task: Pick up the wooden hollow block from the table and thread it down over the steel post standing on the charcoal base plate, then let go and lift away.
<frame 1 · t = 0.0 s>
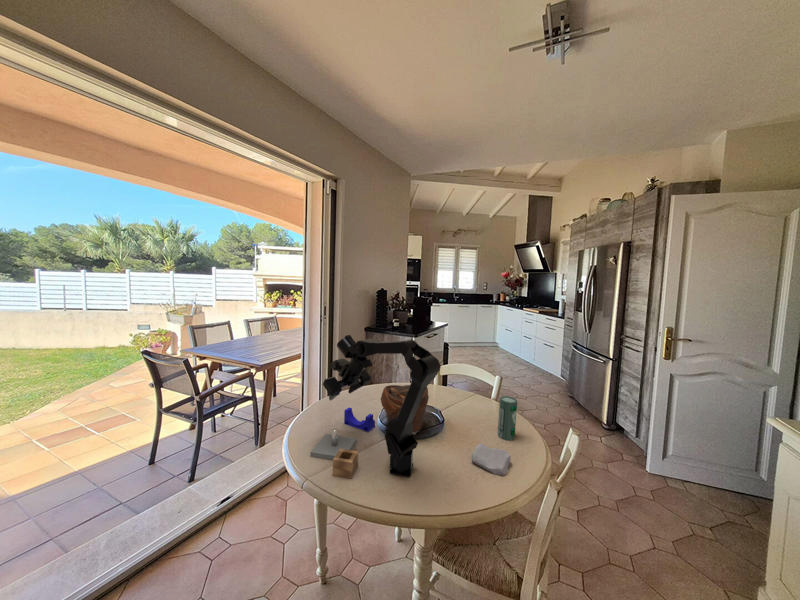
hand: (339, 395, 115), 15 cm above the table, tool tilted 35°, fingers open, 9 cm apart
can: (505, 436, 119), on the table
stone block: (489, 465, 101), on the table
wooden hollow block: (345, 470, 94), on the table
brown pot: (403, 429, 121), on the table
blue curved bracket: (359, 426, 123), on the table
post stand: (334, 448, 106), on the table
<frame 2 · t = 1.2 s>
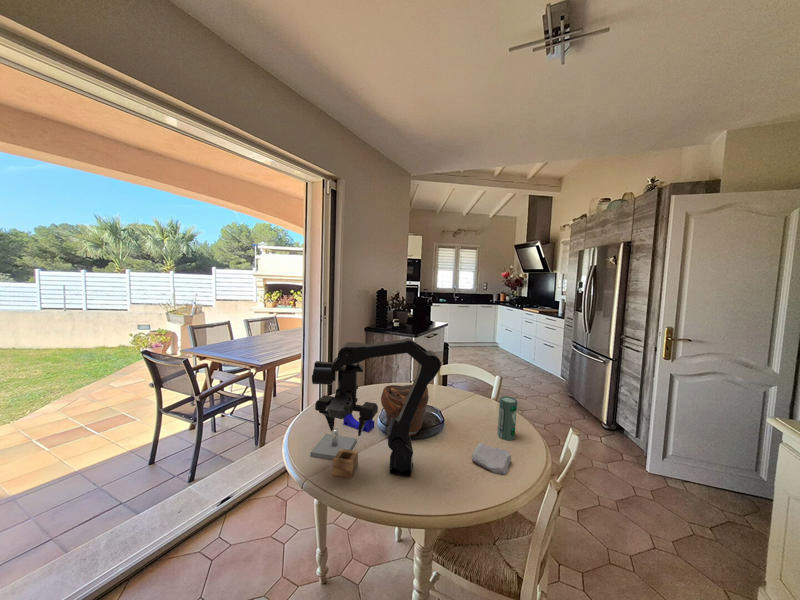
hand: (345, 433, 94), 12 cm above the table, tool pointing down, fingers open, 9 cm apart
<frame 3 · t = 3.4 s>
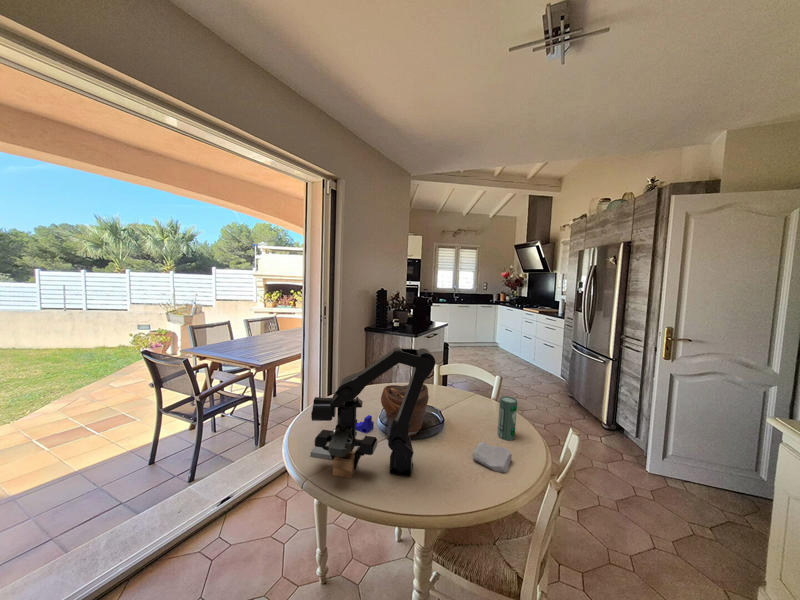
hand: (345, 467, 94), 1 cm above the table, tool pointing down, fingers closed on wooden hollow block, 6 cm apart
wooden hollow block: (345, 470, 94), on the table, touching gripper
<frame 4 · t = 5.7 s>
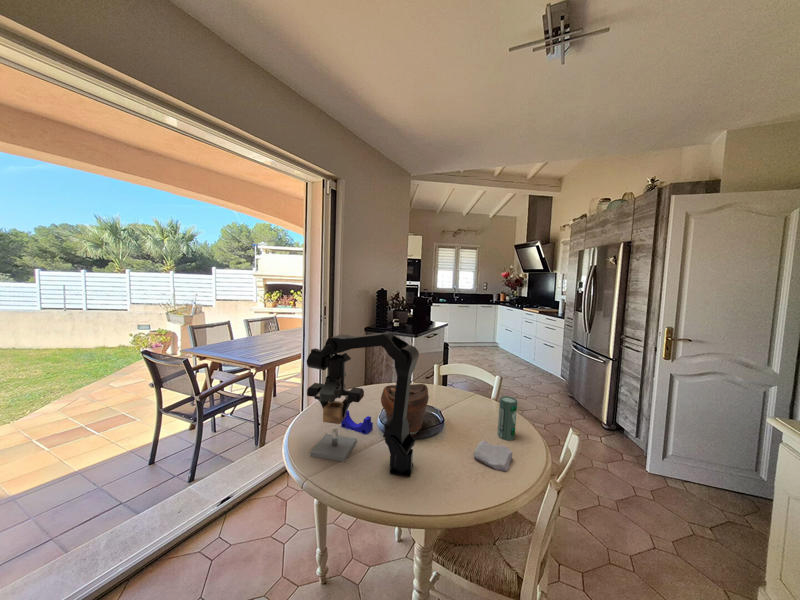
hand: (334, 416, 104), 12 cm above the table, tool pointing down, fingers closed on wooden hollow block, 6 cm apart
wooden hollow block: (334, 418, 104), point 11 cm above the table, touching gripper
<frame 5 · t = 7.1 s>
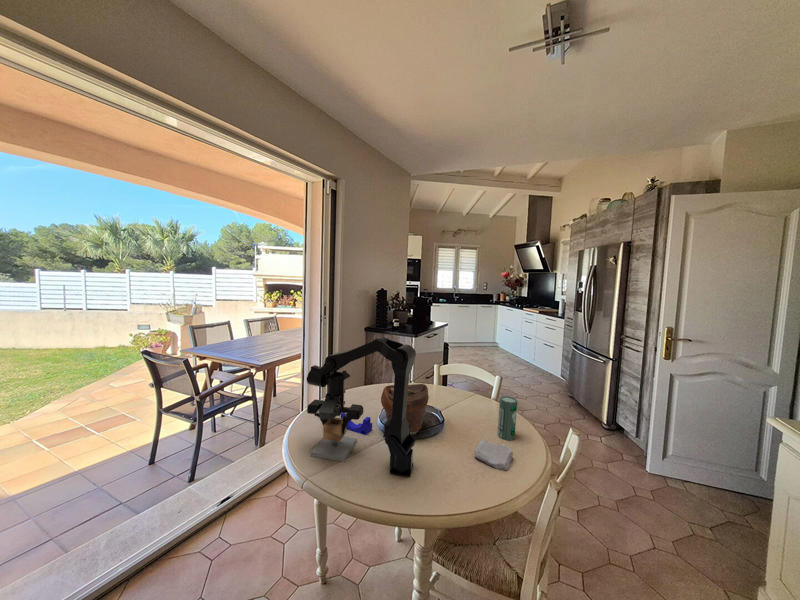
hand: (335, 432, 105), 6 cm above the table, tool pointing down, fingers closed on wooden hollow block, 6 cm apart
wooden hollow block: (334, 435, 105), point 5 cm above the table, touching gripper
when the fingers open (5 cm above the table, at t = 8.1 s): wooden hollow block drops 3 cm, resting on post stand.
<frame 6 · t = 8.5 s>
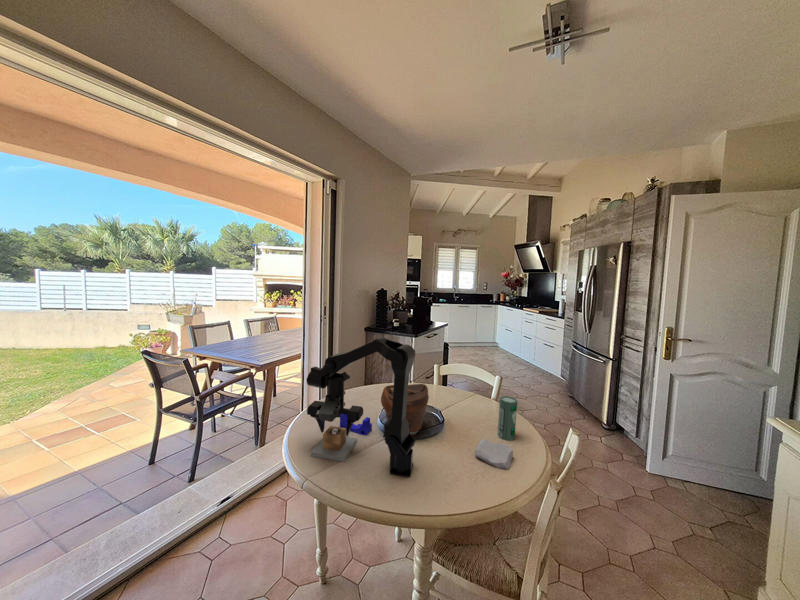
hand: (334, 434, 105), 5 cm above the table, tool pointing down, fingers open, 9 cm apart
wooden hollow block: (334, 444, 106), point 1 cm above the table, touching post stand
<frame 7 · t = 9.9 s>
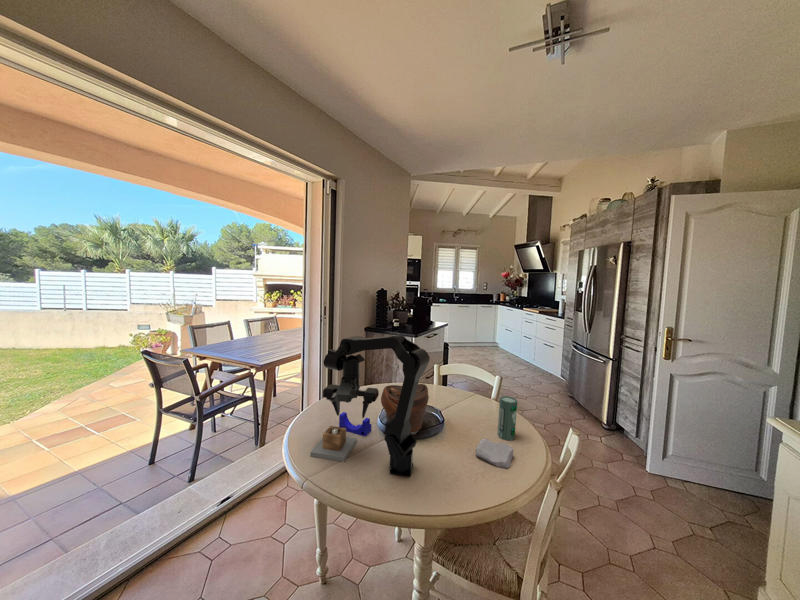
hand: (350, 416, 106), 12 cm above the table, tool pointing down, fingers open, 9 cm apart
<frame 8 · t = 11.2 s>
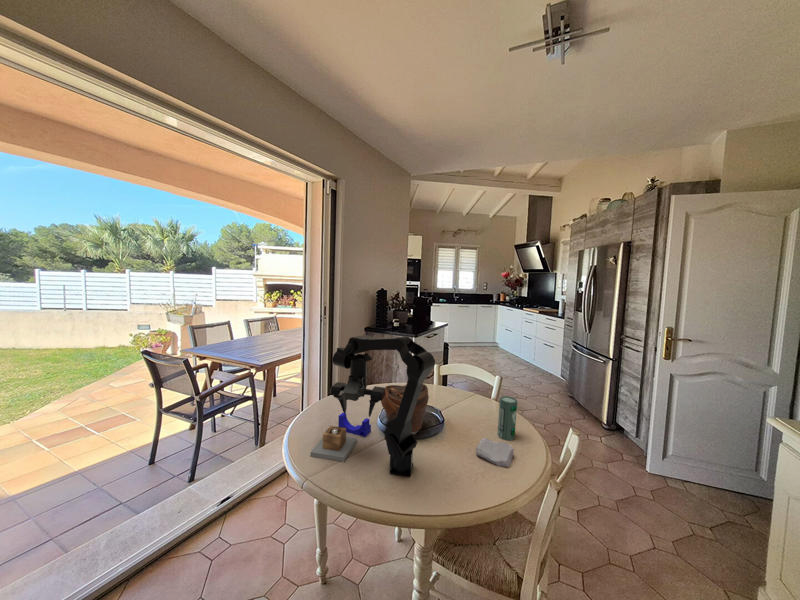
hand: (357, 414, 106), 12 cm above the table, tool pointing down, fingers open, 9 cm apart
at the end: wooden hollow block 0.1 cm off-centre on the post stand, point 1.5 cm above the post stand's base; wooden hollow block tilted 0°; the gripper is holding nothing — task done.
